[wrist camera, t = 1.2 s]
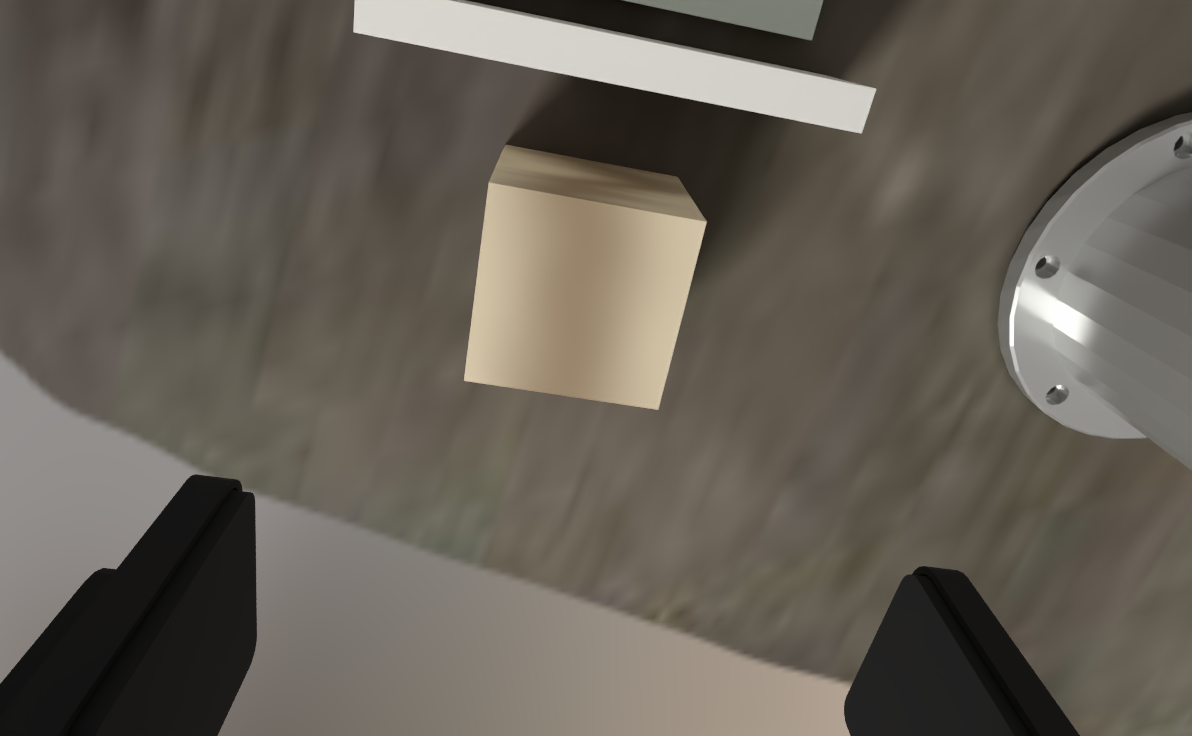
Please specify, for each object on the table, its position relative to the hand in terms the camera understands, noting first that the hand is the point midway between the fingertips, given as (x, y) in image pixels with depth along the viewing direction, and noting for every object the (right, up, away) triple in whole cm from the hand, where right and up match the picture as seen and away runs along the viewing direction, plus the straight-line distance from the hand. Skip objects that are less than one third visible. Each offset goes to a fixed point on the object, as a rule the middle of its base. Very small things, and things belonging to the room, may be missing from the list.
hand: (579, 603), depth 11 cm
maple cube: (0, +8, +16) cm, 18 cm away
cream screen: (+1, +14, +13) cm, 19 cm away
